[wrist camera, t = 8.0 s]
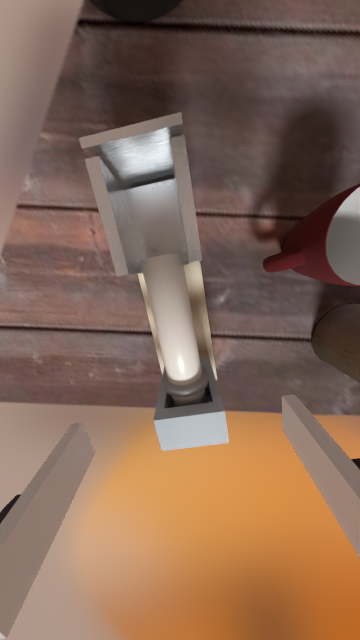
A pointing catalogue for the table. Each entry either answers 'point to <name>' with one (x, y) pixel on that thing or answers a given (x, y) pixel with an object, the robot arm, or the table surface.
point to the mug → (325, 242)
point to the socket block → (191, 418)
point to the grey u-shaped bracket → (144, 192)
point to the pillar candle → (340, 339)
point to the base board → (198, 314)
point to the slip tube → (175, 329)
